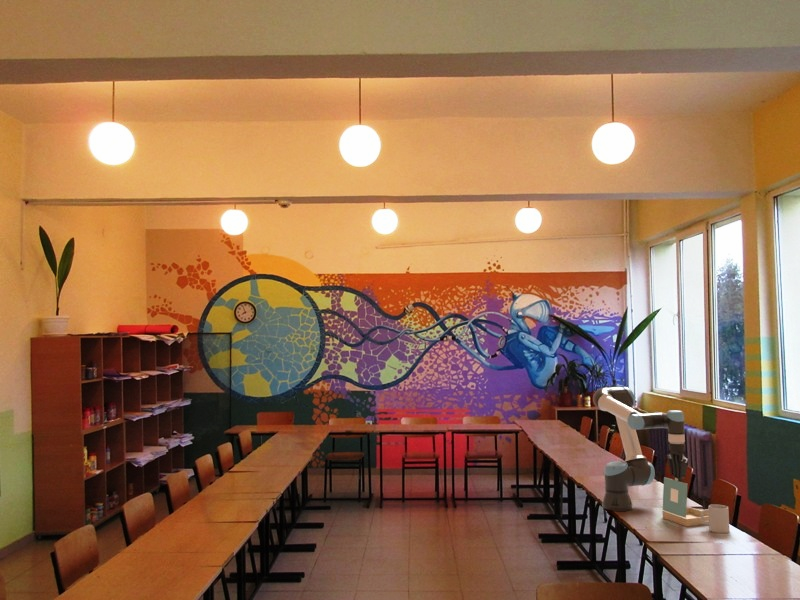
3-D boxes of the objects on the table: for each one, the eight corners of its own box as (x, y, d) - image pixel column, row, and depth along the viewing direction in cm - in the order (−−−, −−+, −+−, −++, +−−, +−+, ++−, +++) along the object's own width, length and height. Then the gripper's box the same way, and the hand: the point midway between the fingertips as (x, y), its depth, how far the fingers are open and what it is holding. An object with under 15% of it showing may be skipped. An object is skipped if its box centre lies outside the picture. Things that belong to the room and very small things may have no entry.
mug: (726, 528, 319) (725, 504, 319) (731, 533, 310) (730, 509, 311) (699, 527, 321) (698, 503, 321) (703, 532, 312) (702, 508, 313)
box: (687, 526, 322) (687, 519, 322) (662, 517, 338) (662, 510, 338) (715, 522, 328) (715, 515, 328) (690, 514, 344) (689, 507, 344)
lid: (686, 517, 323) (685, 517, 323) (663, 509, 338) (662, 509, 337) (687, 483, 324) (686, 483, 324) (664, 477, 339) (663, 477, 339)
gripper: (692, 443, 328) (694, 493, 327) (673, 440, 340) (675, 487, 339) (680, 445, 325) (682, 495, 324) (661, 441, 338) (663, 489, 337)
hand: (678, 491), depth 332 cm, fingers closed
